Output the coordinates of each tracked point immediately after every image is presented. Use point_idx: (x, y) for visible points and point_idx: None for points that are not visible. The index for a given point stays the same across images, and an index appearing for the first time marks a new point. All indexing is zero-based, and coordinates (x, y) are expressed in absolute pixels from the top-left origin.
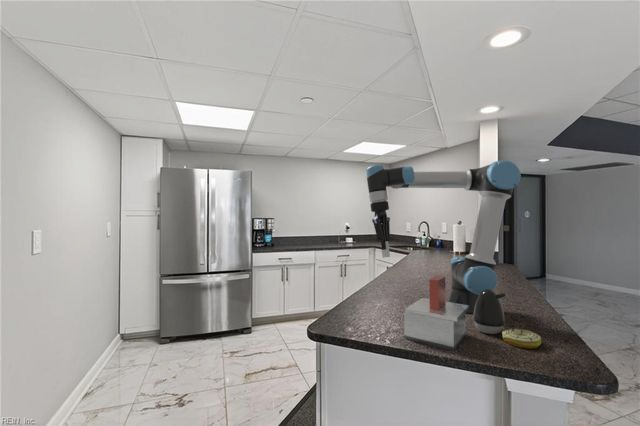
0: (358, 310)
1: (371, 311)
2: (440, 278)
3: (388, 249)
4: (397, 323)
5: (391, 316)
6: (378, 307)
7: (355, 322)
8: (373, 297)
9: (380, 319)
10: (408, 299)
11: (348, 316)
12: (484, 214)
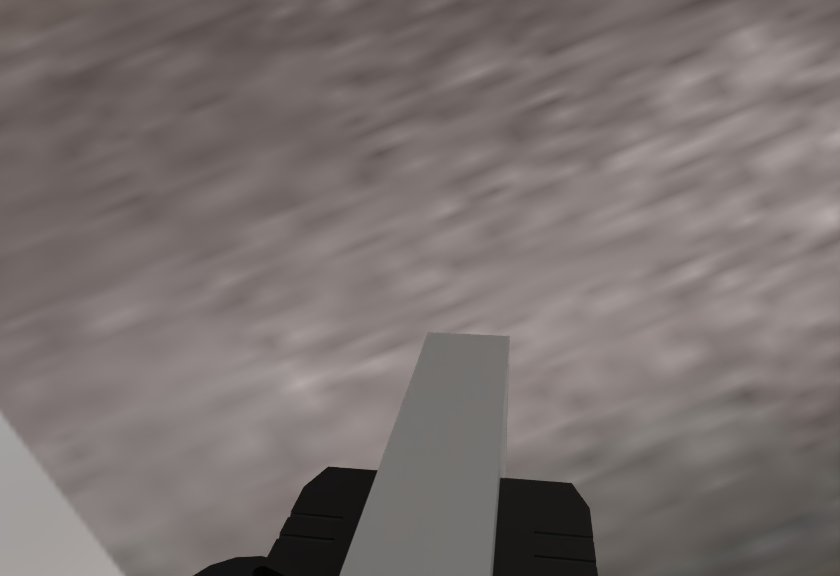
0: (531, 450)
1: None
2: None
3: (437, 421)
4: (665, 80)
5: (527, 185)
6: (374, 353)
7: (815, 358)
8: (163, 478)
9: (644, 228)
10: (44, 234)
11: (708, 456)
12: None
